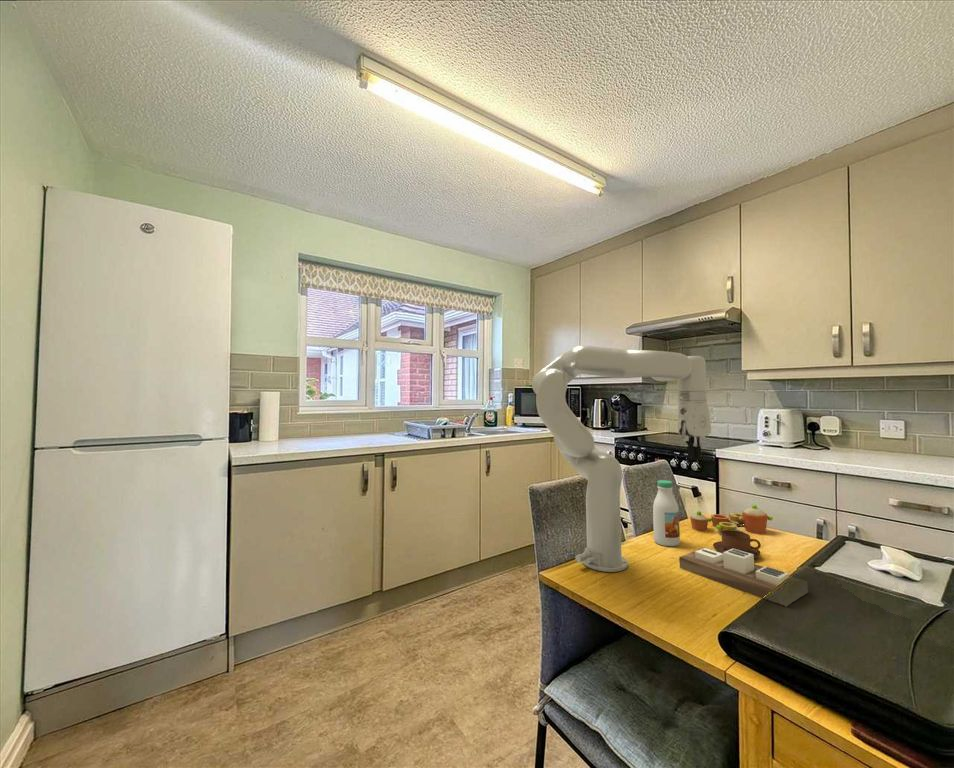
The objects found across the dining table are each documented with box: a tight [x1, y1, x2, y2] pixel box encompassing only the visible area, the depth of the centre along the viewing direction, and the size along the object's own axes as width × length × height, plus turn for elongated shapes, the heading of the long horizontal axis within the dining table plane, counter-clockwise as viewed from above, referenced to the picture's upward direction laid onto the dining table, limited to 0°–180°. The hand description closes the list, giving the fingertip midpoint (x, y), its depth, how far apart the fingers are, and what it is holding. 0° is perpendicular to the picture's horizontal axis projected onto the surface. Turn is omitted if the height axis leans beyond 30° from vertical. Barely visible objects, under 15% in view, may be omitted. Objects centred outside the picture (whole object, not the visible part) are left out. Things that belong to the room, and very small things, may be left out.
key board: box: [678, 547, 791, 599], centre depth 103 cm, size 12×25×3 cm, turn 32°
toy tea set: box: [689, 504, 773, 535], centre depth 142 cm, size 26×16×10 cm, turn 105°
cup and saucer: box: [712, 530, 762, 559], centre depth 119 cm, size 12×12×6 cm
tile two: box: [723, 549, 755, 575], centre depth 103 cm, size 5×5×4 cm
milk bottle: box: [652, 479, 681, 547], centre depth 130 cm, size 8×8×20 cm
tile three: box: [756, 566, 790, 585], centre depth 96 cm, size 5×5×4 cm
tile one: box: [695, 547, 723, 564], centre depth 109 cm, size 5×5×4 cm
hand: (694, 459), depth 117 cm, fingers closed
